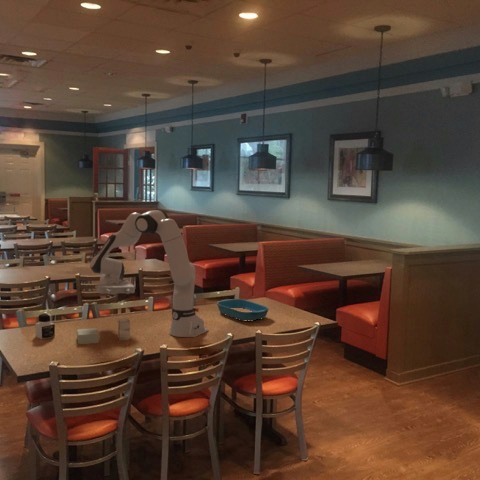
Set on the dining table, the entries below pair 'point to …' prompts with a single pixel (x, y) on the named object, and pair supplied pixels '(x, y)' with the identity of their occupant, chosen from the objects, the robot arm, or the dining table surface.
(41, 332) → the medicine bottle
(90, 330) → the riser block
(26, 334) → the dining table surface
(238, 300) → the casserole dish
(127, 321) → the ash block
